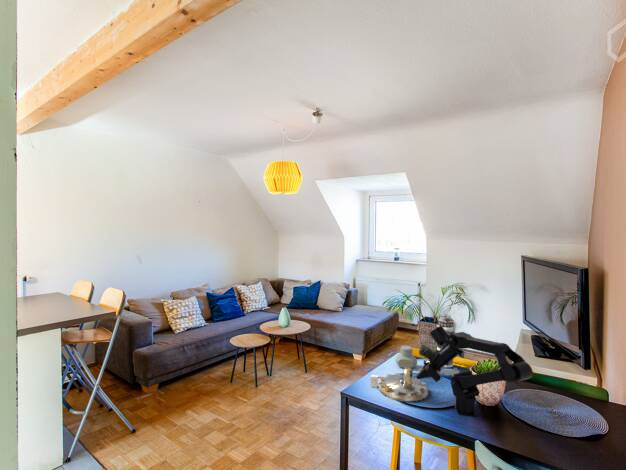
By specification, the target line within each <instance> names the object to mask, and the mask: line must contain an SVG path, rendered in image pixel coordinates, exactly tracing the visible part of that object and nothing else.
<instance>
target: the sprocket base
mask: <svg viewBox="0 0 626 470" xmlns="http://www.w3.org/2000/svg"><path fill="white" fill-rule="evenodd" d="M378 390H379V392H380V393H381V394H382V395H383V396H384V397H387V398H388V399H392V400H394V401H397V402H398V401H399V402H403V401H417V402H419V401H418V400H421V399H424V398H425V397H426V396H427V395H429V389H428V387H427V386H426V392H421V395H420V396H417V395H416V394H413V395H411V397H407V396H406V395H404V394H399V395H394V392H392V391H385V386H381V385H380V381H378ZM427 397H428V396H427ZM427 397H426V398H427ZM426 398H425V399H426ZM425 399H424V400H425ZM421 401H422V400H421Z"/></svg>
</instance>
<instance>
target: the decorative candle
mask: <svg viewBox="0 0 626 470" xmlns="http://www.w3.org/2000/svg"><path fill="white" fill-rule="evenodd" d="M438 326H442V327H443V328H444V330H445V331H446V332H447V334H448V335H450V334H452V333H456V332H455V331H454V319H453V318H452V317H451V316H446V315H440V317H438V318H437V325H436V326H435V329H436V328H437V327H438ZM442 348H443V347H442V346H438V345H437V346H436V350H440V349H442ZM453 366H454V359H453V360H451V361H450V362H449V365H448V366H447V365H445V366H444V367H443V368H452V367H453Z"/></svg>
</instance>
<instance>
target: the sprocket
mask: <svg viewBox="0 0 626 470" xmlns="http://www.w3.org/2000/svg"><path fill="white" fill-rule="evenodd" d="M413 373H414V371H413V369H412V368H403V374H401V373H399V372H396V373H395V374H391V373H387V374H386V376H381V377H382V379H381V378H380V380H379V382H380V385H381V386H385V391H392V392H394V395H399V394H404V395H406V396H407V397H411V395H413V394H416V395H417V396H420V395H421V392H426V387H427V383H426V382H425V381H421V379H417V378H416V377H413Z"/></svg>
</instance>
